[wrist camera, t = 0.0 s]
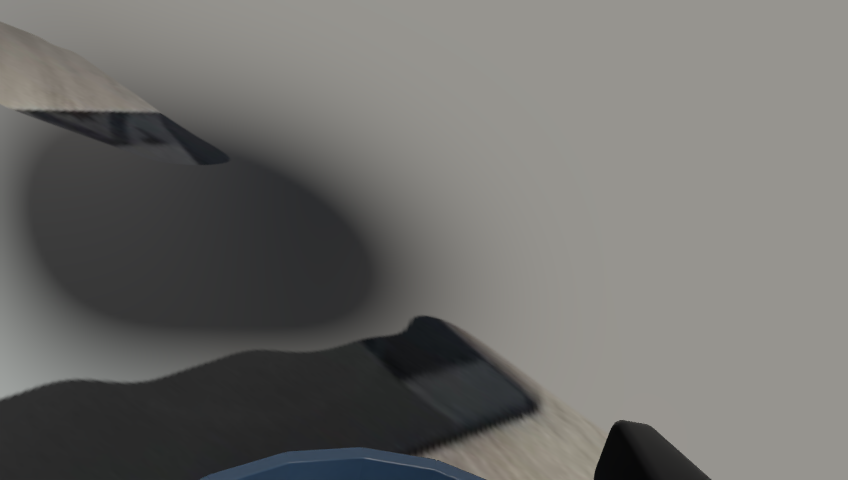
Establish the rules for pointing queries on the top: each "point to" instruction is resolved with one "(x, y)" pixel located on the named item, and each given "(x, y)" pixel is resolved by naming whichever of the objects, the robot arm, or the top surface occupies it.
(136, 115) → the top surface
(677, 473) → the robot arm
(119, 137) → the top surface
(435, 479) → the bowl
